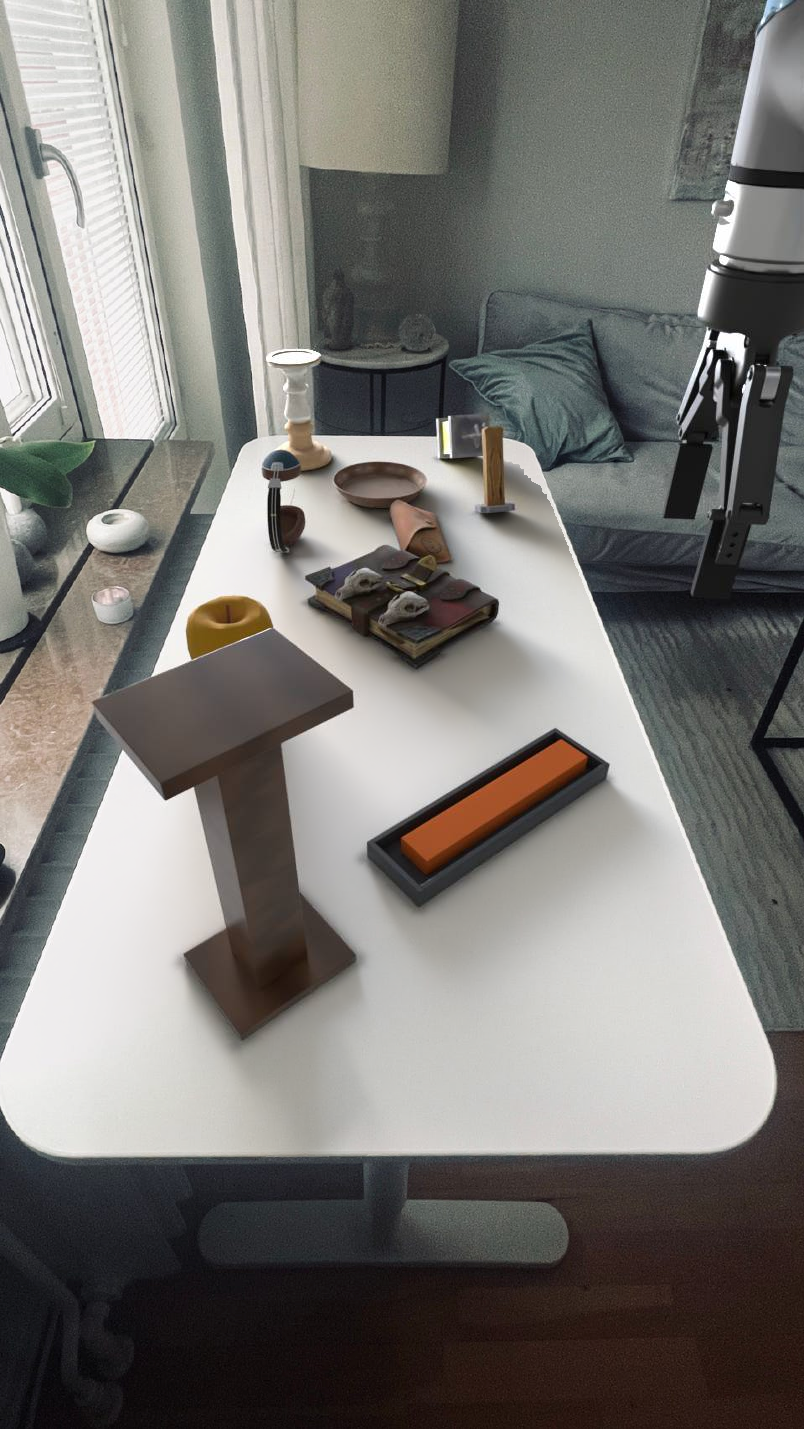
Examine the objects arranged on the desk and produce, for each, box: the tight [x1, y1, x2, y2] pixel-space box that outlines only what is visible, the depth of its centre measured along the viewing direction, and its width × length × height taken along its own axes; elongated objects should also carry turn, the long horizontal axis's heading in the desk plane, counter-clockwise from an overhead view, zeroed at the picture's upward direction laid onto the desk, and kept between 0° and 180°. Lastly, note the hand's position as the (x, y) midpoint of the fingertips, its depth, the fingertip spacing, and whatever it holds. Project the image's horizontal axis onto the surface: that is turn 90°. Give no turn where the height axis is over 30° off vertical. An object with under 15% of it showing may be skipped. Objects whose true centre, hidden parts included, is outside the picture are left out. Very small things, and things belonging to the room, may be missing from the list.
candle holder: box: [265, 348, 332, 472], centre depth 157 cm, size 12×12×20 cm
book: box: [304, 544, 500, 670], centre depth 116 cm, size 26×18×7 cm
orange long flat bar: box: [401, 739, 588, 875], centre depth 85 cm, size 24×4×2 cm, turn 129°
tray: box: [366, 727, 611, 908], centre depth 85 cm, size 28×8×2 cm, turn 130°
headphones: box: [261, 449, 306, 554], centre depth 131 cm, size 6×15×22 cm
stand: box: [91, 627, 357, 1041], centre depth 62 cm, size 14×10×30 cm
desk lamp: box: [435, 412, 516, 514], centre depth 151 cm, size 8×17×30 cm
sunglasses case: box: [389, 500, 452, 564], centre depth 135 cm, size 18×7×7 cm
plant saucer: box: [332, 460, 428, 509], centre depth 149 cm, size 18×18×3 cm
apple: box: [185, 594, 274, 661], centre depth 98 cm, size 11×11×13 cm
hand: (692, 553), depth 65 cm, fingers open, 13 cm apart
